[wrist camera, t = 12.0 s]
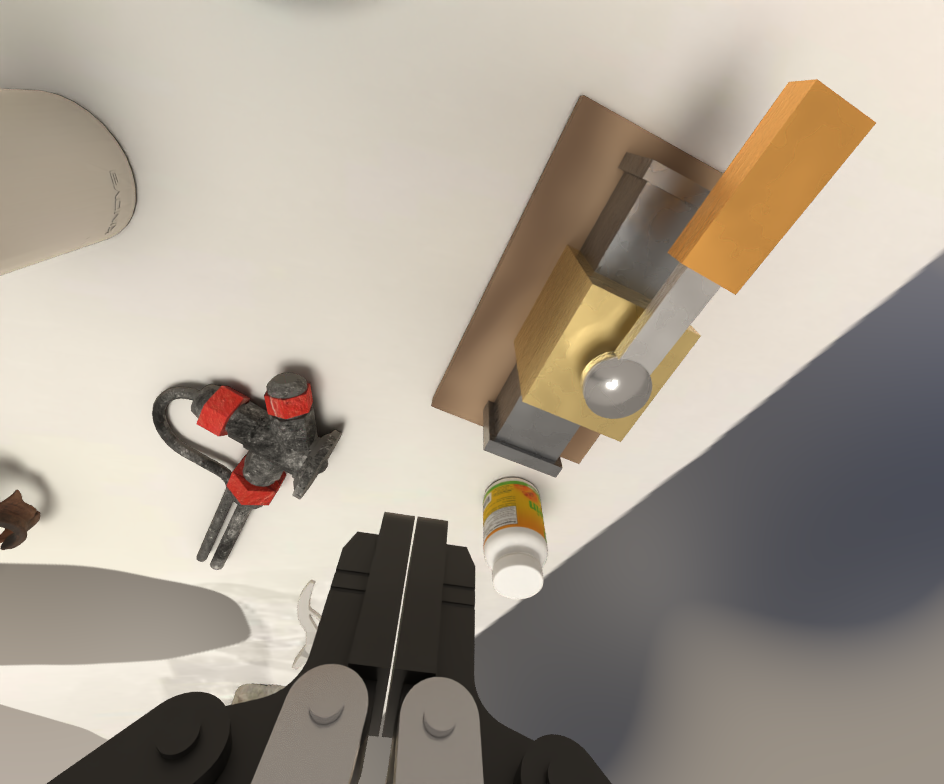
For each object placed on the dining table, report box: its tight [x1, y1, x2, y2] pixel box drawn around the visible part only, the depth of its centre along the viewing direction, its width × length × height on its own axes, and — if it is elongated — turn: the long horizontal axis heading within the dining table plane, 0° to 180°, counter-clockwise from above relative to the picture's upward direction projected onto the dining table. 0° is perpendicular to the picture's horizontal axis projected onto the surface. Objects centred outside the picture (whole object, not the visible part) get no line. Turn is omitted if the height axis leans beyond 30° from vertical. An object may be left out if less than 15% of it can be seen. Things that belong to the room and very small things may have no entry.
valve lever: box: [580, 79, 876, 419], centre depth 24 cm, size 17×4×2 cm, turn 153°
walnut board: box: [431, 95, 723, 464], centre depth 36 cm, size 14×24×1 cm, turn 155°
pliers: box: [292, 580, 321, 669], centre depth 57 cm, size 10×2×15 cm
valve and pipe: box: [483, 152, 711, 477], centre depth 32 cm, size 7×21×10 cm, turn 155°
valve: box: [152, 373, 342, 570], centre depth 44 cm, size 6×26×15 cm
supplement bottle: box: [483, 478, 548, 599], centre depth 42 cm, size 5×5×10 cm
